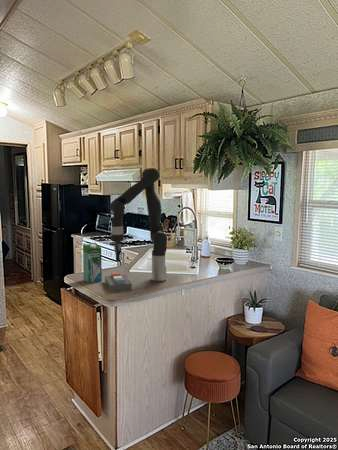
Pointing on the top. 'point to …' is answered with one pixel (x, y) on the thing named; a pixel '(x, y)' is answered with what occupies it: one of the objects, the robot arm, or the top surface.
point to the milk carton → (92, 263)
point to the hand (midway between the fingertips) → (117, 260)
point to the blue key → (119, 281)
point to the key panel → (120, 287)
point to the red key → (115, 274)
